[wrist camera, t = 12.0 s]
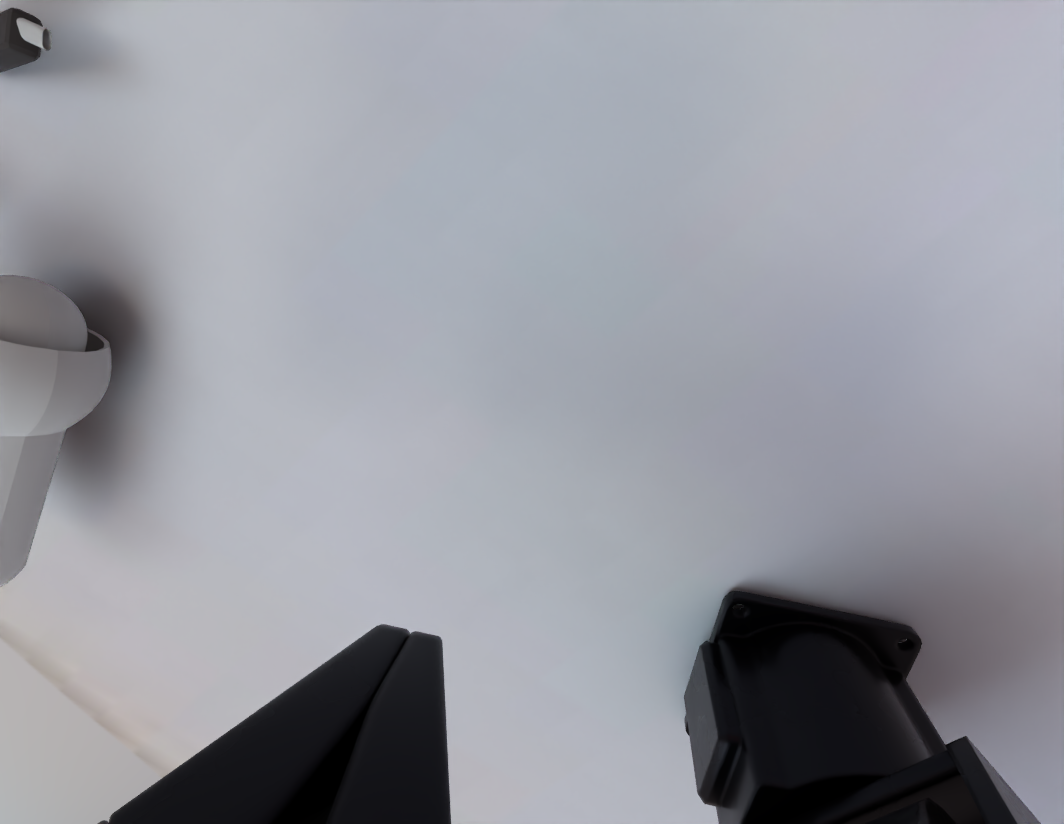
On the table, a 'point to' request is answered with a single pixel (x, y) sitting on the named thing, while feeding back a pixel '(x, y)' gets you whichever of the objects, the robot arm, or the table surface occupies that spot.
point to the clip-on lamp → (37, 363)
